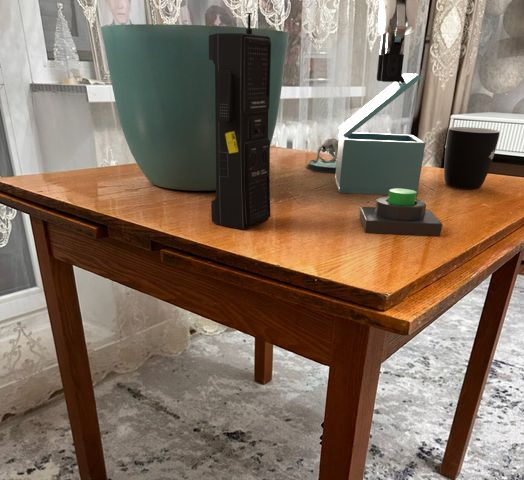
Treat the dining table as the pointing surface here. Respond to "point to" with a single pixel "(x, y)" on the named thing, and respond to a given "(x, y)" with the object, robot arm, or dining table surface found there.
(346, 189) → the teal open box
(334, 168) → the figurine
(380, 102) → the box lid
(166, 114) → the flower pot
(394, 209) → the block
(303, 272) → the dining table surface
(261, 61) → the portable radio
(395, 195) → the button
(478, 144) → the mug
